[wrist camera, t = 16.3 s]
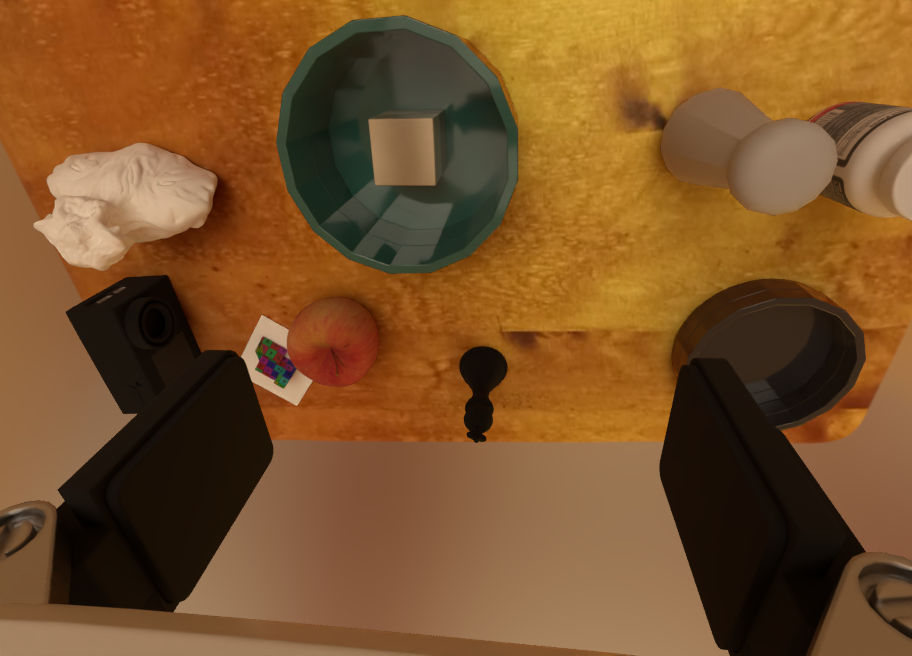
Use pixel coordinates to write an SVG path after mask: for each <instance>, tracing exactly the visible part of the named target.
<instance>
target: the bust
mask: <svg viewBox="0 0 912 656" xmlns="http://www.w3.org/2000/svg"><path fill="white" fill-rule="evenodd" d="M47 184H48V186H49V189H50V191H51V193H52V194H53V195H54V197H55V198H57V199H56V200H55V208H54V210H53V214H48V215H47V216H46V218H45V219H43V220H41V221H38V222H35V223H34V228H35V229H36V230H38V231H40V232H42V233H43V234H44V235H45V237H46V238H47V239H48V240H49V242H50V243H51V244H53V245H54V246H55V247H56V248H57V250H58V251H59V253H60V254H61V256H62V257H63V258H64V259H65V260H66V261H67V262H68V263H69V264H71V265H74V266H78V267H86V268H91V267H92V268H94V269H97V270H101V271H105V270H108V269H109V268H110V266H111V265H112V264H115V263H117V262H118V261H119V260H121V259H123V258H124V255H125V254H126V252H127V251H128V250H129V249H130V247H131V246H132V245H133V244H134V243H135V242H137V243H141V242H146V241H154V240H158V239H161V238H169V237H171V236H173V235H175V234H178V233H182V232H184V231H186V230H188V228H189V227H192V228H199V227H201V226H202V225H203V224H204V223H205V221H206V219H207V215H208V214H209V213H210V211H211V209H212V205H213V202H212V201H213V196H214V192H215V189H216V187H217V184H218V178H217V176H216V175H215V174H214V173H212V172H210V171H208V170H205V169H203V168H200V167H198V166H196V165H194V164H192V163H191V162H190V161H189V160H187V159H186V158H185V157H183V156H181V155H178V154H174V153H171V152H169V151H166V150H164V149H162V148H159V147H156V146H154V145H151V144H148V143H136V144H134V145H131V146H128V147H125V148H123V149H120V150H117V151H114V152H93V153H87V154H81V155H80V154H77V155H72V156H69V157H67V158H66V160H65V161H64V163H63V164H60V165H58V166H56V167H55V168H54V170H53V173H52V174H51V175H49V176H48V178H47Z"/></svg>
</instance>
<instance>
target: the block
mask: <svg viewBox="0 0 912 656" xmlns="http://www.w3.org/2000/svg"><path fill="white" fill-rule="evenodd" d="M368 122H369V132H370V141H371V151H372V161H373V170H374V180H375V185H376V186H435V185H436V184H437V182H438V181H439V179H440V177H441V176H442V174H443V173H444V171H445V169H446V141H445V111H444V110H443V109H433V110H389V111H386V112H384V113H382V114H379V115H377V116H375V117H372V118H370V119H369V120H368Z"/></svg>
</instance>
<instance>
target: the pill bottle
mask: <svg viewBox="0 0 912 656" xmlns="http://www.w3.org/2000/svg"><path fill="white" fill-rule="evenodd" d="M808 122H812V123H816V124H817V125H819V126H820V127H822V128H823V129H824V130H825V131H826V132H827V133H828V134H829V135H830V136H831V137H832V138H833V139H834V140H835V144H836V151H837V159H838V161H837V164H836V167H835V170H834V173H833V176H832V179H831V182H830V183H829V184H828V185H827V186H826V187H825V188H824V190H823V191H822V192H821V193H820V195H822V196H824V197H827V198H829V199H832V200H834V201H836V202H839V203H841V204H843V205H846V206H848V207H851V208H853V209H855V210H857V211H860V212H862V213H865V214H868V215H871V216H875V217H885V218H890V217H902V218H905V219H908V220H911V221H912V108H908V107H899V106H890V105H881V104H872V103H865V102H845V103H840V104H836V105H833V106H831V107H828V108H826V109H824V110H823V111H821V112H819V113H818V114H816V115H815V116H813V117H812V118H811V119H810V120H809V121H808Z"/></svg>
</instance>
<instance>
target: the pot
mask: <svg viewBox="0 0 912 656" xmlns="http://www.w3.org/2000/svg"><path fill="white" fill-rule="evenodd" d="M433 109H443V110H444V111H445V141H446V169H445V171H444V173H443V174H442V176H441V177H440V179H439V181H438V182H437V184H436V185H435V186H376V185H375V180H374V170H373V161H372V151H371V141H370V132H369V122H368V120H369V119H370V118H372V117H375V116H377V115H379V114H382V113H384V112H386V111H389V110H433ZM276 142H277V143H276V144H277V149H278V153H279V157H280V161H281V165H282V170H283V174H284V178H285V182H286V186H287V190H288V192H289V194H290V195H291V197H292V198H293V200H294V202H295V203H296V205H297V206H298V208H299V209H300V211H301V213H302V214H303V216H304V217H305V219H306V220H307V222H308V224H309V225H310V227H311V228H312V230H313V231H314V232H315V233H316V234H318V235H319V236H320V237H321V238H323V239H324V240H325V241H326V242H328V243H329V244H330V245H331V246H333V247H334V248H335V249H336V250H338V251H339V252H340V253H341V254H343V255H344V256H345V257H346V258H348V259H349V260H352V261H355V262H358V263H361V264H363V265H366V266H369V267H372V268H375V269H378V270H381V271H383V272H386V273H390V274H397V273H431V272H434V271H436V270H439V269H441V268H443V267H445V266H448V265H450V264H452V263H455V262H457V261H459V260H462V259H464V258H466V257H469V256H471V254H472V253H473V252H474V251H475V250H476V249H477V248H478V247H479V246H480V245H481V244H482V243H483V242H484V241H485V240H486V239H487V238H488V237H489V236H490V235H491V234H492V233H493V232H494V231H495V230H496V229H497V228H498V227H499V226H500V224H501V222H502V220H503V217H504V215H505V212H506V210H507V207H508V204H509V202H510V199H511V197H512V194H513V192H514V189H515V187H516V184H517V182H518V122H517V113H516V110H515V108H514V105H513V103H512V100H511V98H510V95H509V92H508V90H507V88H506V85H505V83H504V80H503V78H502V75H501V73H500V72H499V71H498V70H497V69H496V68H495V67H494V65H493V64H492V63H491V62H490V61H489V60H488V59H487V58H486V57H485V56H484V55H483V54H482V53H481V52H480V51H479V50H478V49H477V48H476V47H475V46H474V45H473V44H472V43H471V42H470V41H468V40H467V39H465V38H462V37H460V36H457V35H455V34H452V33H449V32H447V31H444V30H442V29H439V28H437V27H434V26H432V25H429V24H426V23H424V22H421V21H419V20H416V19H414V18H411V17H408V16H404V15H403V16H392V17H381V18H370V19H359V20H352V21H350V22H348V23H347V24H345V25H344V26H342V27H341V28H339V29H338V30H336V31H335V32H333V33H331V34H330V35H328V36H327V37H325V38H324V39H322V40H321V41H319V42H318V43H316V44H315V45H313V46H311V47H310V48H309V49H308V50H307V52H306V54H305V55H304V57H303V59H302V60H301V62H300V64H299V66H298V67H297V69H296V71H295V72H294V74H293V76H292V77H291V79H290V81H289V82H288V84H287V86H286V88H285V89H284V91H283V94H282V101H281V109H280V117H279V125H278V133H277V140H276Z"/></svg>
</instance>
